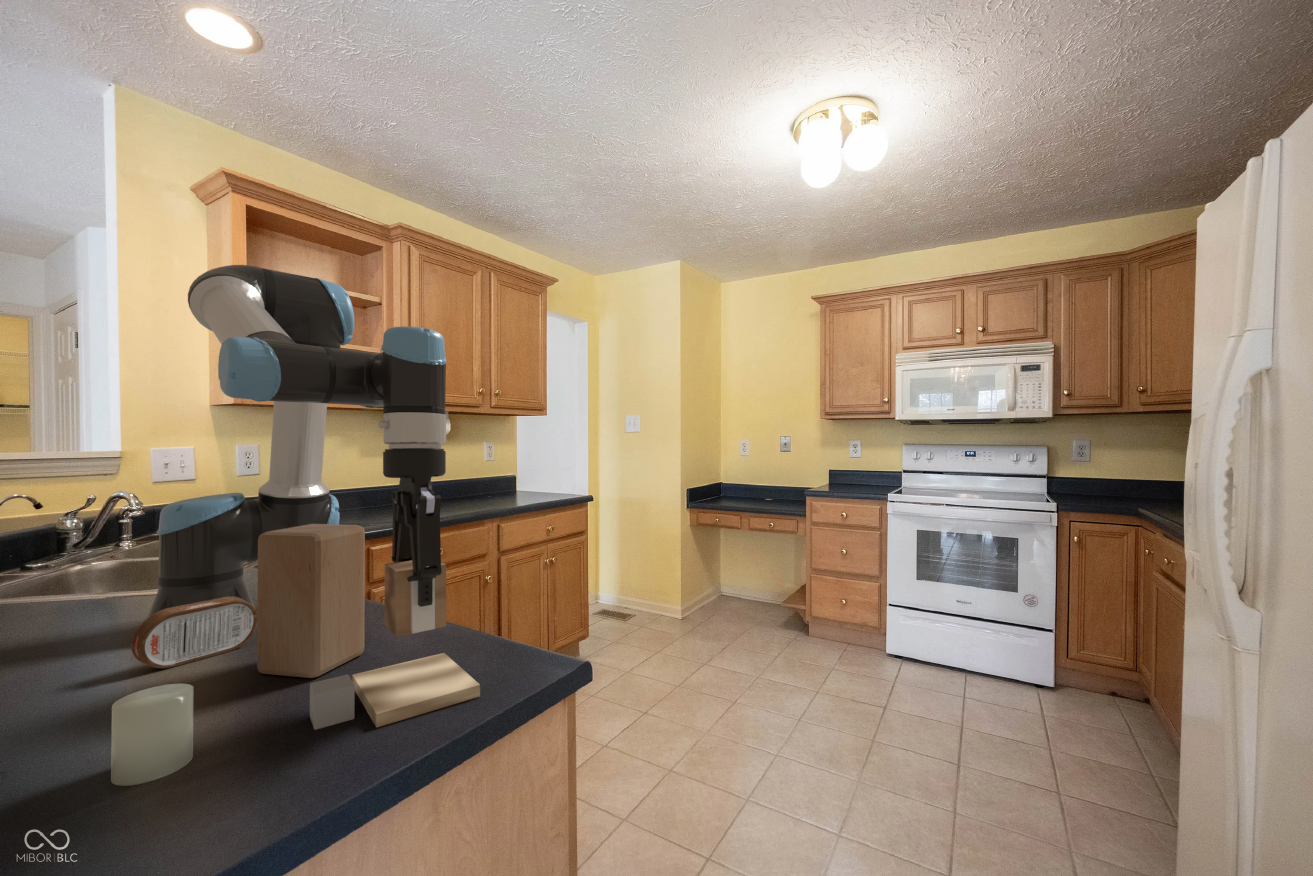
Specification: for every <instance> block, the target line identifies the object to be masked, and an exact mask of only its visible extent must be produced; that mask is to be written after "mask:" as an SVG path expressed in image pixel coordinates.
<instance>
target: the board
mask: <svg viewBox="0 0 1313 876" xmlns="http://www.w3.org/2000/svg"><path fill="white" fill-rule="evenodd" d="M351 680H352V682H353V683H354V685H355V694H356V695H357V696H358V698H359V700H360V702H361V703H362V705H363V707H364V710H366V712H367V714H368V716H369V717H370V719H371V721H372V723H373V724H374V726H375V728H380V727H383V726H386V725H390V724H394V723H396V722H399V721H403V720H407V719H410V718H414V717H416V716H420V715H423V714H426V713H429V712H433V711H436V710H440V709H443V708H446V707H449V706H450V707H451V706H452V705H457V704H459V703H460V704H461V703H464V702H466V701H467V702H468V701H470V700H473V699H477V698H480V697H481V684H480V683H479V682H478V681H476V680H475V679H474V678H473V677H472V676H471V675H470V674H469V673H468V672H467V671H465V670H464V669H463V668H462V667H461V666H460V665H459V664H458V663H456V662H455V661H454V660H453V659H452V658H450V656H449V655H447V654H446V653H445V652H443V653H437V654H434V655H433V654H432V655H429V656H425V657H420V658H417V659H412V660H408V661H403V662H400V663H395V664H391V665H387V666H383V667H379V668H374V669H372V670H365V671H363V672H358V673H354V674H351Z"/></svg>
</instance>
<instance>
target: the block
mask: <svg viewBox="0 0 1313 876" xmlns="http://www.w3.org/2000/svg"><path fill="white" fill-rule="evenodd" d="M365 535H366V530H365V528H364V527H363V526H361V525H358V524H339V525H338V524H309V525H303V526H297V527H291V528H286V529H280V530H274V531H268V532H265V533H263V534H261V535H260V536H259V538H258V561H257V614H258V621H257V627H256V629H257V630H256V631H257V632H256V633H257V634H256V635H257V636H256V638H257V639H256V641H257V643H256V644H257V650H256V651H257V653H256V654H257V655H256V656H257V659H256V663H257V664H256V668H257V671H258V672H259V673H261V674H263V675H265V674H266V675H276V676H285V677H296V678H297V677H298V678H307V679H315V678H318V677H320V676H322V675H323V674H326V673H327V672H330V671H331V670H334V669H336V668H337V667H339V666H341V665H343V664H346V663H347V662H350V661H351V660H353V659H355V658H356V657H359V656H361V655H362V654H363V653H364V650H365V607H366V606H365V599H366V598H365V593H366V592H365V590H366V589H365V582H366V581H365V580H366V579H365V577H366V573H365V566H366V565H365V564H366V563H365V562H366V557H365V555H366V554H365V553H366V552H365V551H366V550H365V549H366V547H365V545H366V544H365V543H366V538H365Z"/></svg>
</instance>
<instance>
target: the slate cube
mask: <svg viewBox="0 0 1313 876" xmlns="http://www.w3.org/2000/svg"><path fill="white" fill-rule="evenodd" d="M355 694H356V692H355V685H354V683H353V682H352V677H350V675H349V674H348V673H347V674H343V675H339V676H334V677H331V678H330V677H329V678H327V679H323V680H319V681H314V682H310V683H309V718H310V721H311V724H312V727H313V730H314V731H315V730H320V729H323V728H326V727H329V726H333V725H337V724H338V725H339V724H341V723H344V722H347V721H351V720H354V719H355V704H356V703H355V699H356V698H355Z"/></svg>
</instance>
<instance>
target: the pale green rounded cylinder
mask: <svg viewBox="0 0 1313 876" xmlns="http://www.w3.org/2000/svg"><path fill="white" fill-rule="evenodd" d="M110 739H111V741H110V743H111V744H110V745H111V746H110V748H111V749H110V750H111V753H110V754H111V755H110V757H111V759H110V761H111V762H110V771H111V772H110V782H111V783H112V784H113V785H115V786H121V787H123V786H126V787H128V786H135V785H141V784H146V783H149V782H153V781H156V780H159V779H162V778H164V777H167V776H169V775H171V774H173V773H176V772H178V771H179V770H181V769H182V768H184V767H186V766H187V765H188V764H189V763H190V762H191V761H192V759H193V758H194V686H193V685H191V684H189V683H170V684H162V685H158V686H153V687H149V688H145V689H142V690H138V691H135V692H133V693H130V694H127V695H125V696H123V697H121V698H118V699H117V700H116V701H115V702H114V703H113V704H112V705H111V738H110Z"/></svg>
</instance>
